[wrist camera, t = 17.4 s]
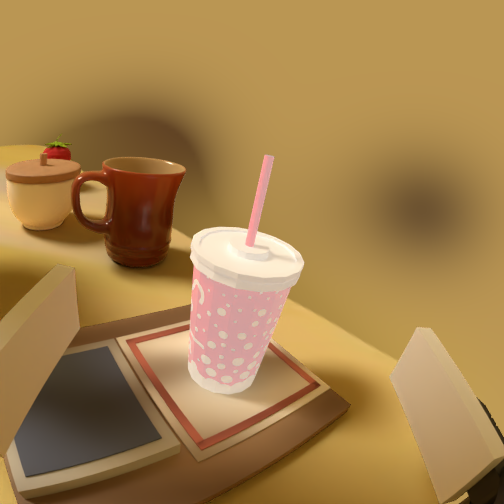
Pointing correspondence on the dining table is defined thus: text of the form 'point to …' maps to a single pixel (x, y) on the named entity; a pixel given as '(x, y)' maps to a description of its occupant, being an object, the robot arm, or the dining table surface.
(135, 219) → the mug
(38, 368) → the robot arm
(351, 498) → the dining table surface
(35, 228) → the lidded jar
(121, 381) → the stamp board
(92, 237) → the dining table surface
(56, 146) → the strawberry
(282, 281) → the beverage cup
